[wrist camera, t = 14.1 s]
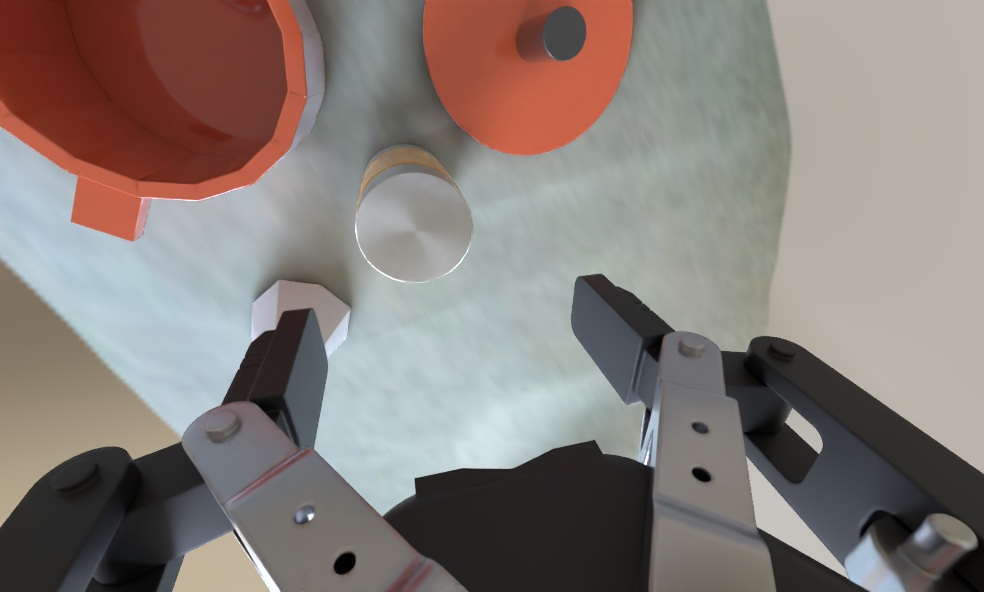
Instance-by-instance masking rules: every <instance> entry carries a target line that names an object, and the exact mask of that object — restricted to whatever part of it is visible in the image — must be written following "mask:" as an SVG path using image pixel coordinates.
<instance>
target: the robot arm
mask: <svg viewBox="0 0 984 592" xmlns="http://www.w3.org/2000/svg"><path fill="white" fill-rule="evenodd" d="M571 324H572V329H573V332H574V334H575V336H576V337H577V339H578V340H579V342H580V343H581V344H582V346H583V347H584V348H585V350H586V351H587V352H588V354H589V355H590V356H591V358H592V359H593V361H594V362H595V363H596V365H597V366H598V367H599V369H600V370H601V371H602V373H603V374H604V375H605V377H606V378H607V380H608V381H609V382H610V384H611V385H612V386H613V388H614V389H615V390H616V392H617V393H618V394H619V396H620V397H621V399H622V400H623V401H624V403H625V404H626V405H631V404H636V403H641V402H643V403H644V405H645V410H644V414H643V420H642V428H641V436H640V443H639V451H638V458H637V461H636V460H633V459H630V458H626V457H622V456H617V455H610V454H603V453H602V452H601V450H600V448H599V447H598V445H597V443H596V441H595V440H593V441H588V442H583V443H579V444H574V445H569V446H565V447H560V448H555V449H552V450H550V451H548V452H546V453H544V454H542V455H540V456H538V457H536V458H534V459H532V460H530V461H528V462H526V463H524V464H522V465H520V466H518V467H516V468H513V469H471V468H462V469H457V470H452V471H447V472H443V473H438V474H433V475H429V476H424V477H419V478H415V490H416V494H415V495H413V496H411V497H409V498H407V499H405V500H404V501H402V502H401V503H399V504H397V505H396V506H395V507H393V508H392V509H391V510H390V511H388V512H387V513H386V514H385V515H384V516H383V517H382V516H381V515H380V514H379V513H378V512H377V511H376V510H375V509H374V508H373V507H372V506H371V505H370V504H369V503H368V502H366V501H365V500H364V499H363V498H362V497H361V496H360V495H359V494H358V493H357V492H356V491H355V490H354V489H353V488H352V487H351V486H350V485H349V484H348V483H347V482H346V481H345V480H344V479H343V478H342V477H341V476H340V475H339V474H338V473H337V472H336V471H335V470H334V469H333V468H332V467H331V466H330V465H329V464H328V463H327V462H326V461H325V460H324V459H323V458H322V457H321V456H320V455H319V454H318V453H317V452H316V451H315V450H314V444H315V439H316V433H317V428H318V422H319V417H320V411H321V406H322V400H323V395H324V389H325V384H326V378H327V372H328V361H327V354H326V350H325V346H324V342H323V338H322V335H321V331H320V327H319V323H318V320H317V316H316V313H315V311H314V309H313V308H304V309H296V310H287V311H283V313H282V315H281V317H280V320H279V322H278V324H277V327H276V329H275V330H268V331H264V332H263V333H262V334H261V335H260V336H258V337H257V338H256V339H255V340H254V341H253V342H252V343H251V344H250V346H249V348H248V350H247V352H246V354H245V358H244V359H243V361H242V363H241V365H240V369H239V370H238V371H237V373H236V375H235V377H234V379H233V381H232V383H231V385H230V387H229V390H228V392H227V394H226V396H225V398H224V400H223V402H222V404H221V406H218V407H216V408H213V409H211V410H209V411H208V412H206V413H204V414H203V415H201V416H200V417H198V418H197V419H196V420H195V421H194V422H193V423H192V424H191V425H190V426H189V427H188V428H187V430H186V431H185V433H184V435H183V438H182V441H181V442H179V443H177V444H174V445H172V446H169V447H167V448H164V449H161V450H159V451H156V452H154V453H151V454H148V455H145V456H143V457H140V458H137V459H135V460H132V458H131V457H130V455H129V454H128V452H127V451H126V450H125V449H123V448H120V447H102V448H98V449H93V450H90V451H87V452H84V453H82V454H80V455H77V456H75V457H73V458H71V459H69V460H67V461H65V462H63V463H61V464H60V465H58V466H57V467H55V468H54V469H52V470H51V471H50V472H48V473H47V474H46V475H44V476H43V477H42V478H41V479H39V480H38V481H37V482H36V483H35V484H34V485H33V487H32V488H31V489H30V490H29V491H28V493H27V494H26V495H25V497H24V498H23V499H22V500H21V502H20V503H19V504H18V506H17V507H16V508H15V509H14V511H13V512H12V513H11V515H10V516H9V517H8V518H7V520H6V521H5V522H4V524H3V525H2V526H1V527H0V592H172V590H173V587H174V585H175V582H176V579H177V576H178V573H179V570H180V567H181V564H182V562H183V558H184V556H185V554H186V553H188V552H190V551H192V550H194V549H196V548H198V547H200V546H202V545H204V544H206V543H208V542H210V541H212V540H214V539H216V538H218V537H220V536H222V535H224V534H226V533H228V532H230V531H232V532H233V534H234V535H235V537H236V538H237V540H238V541H239V543H240V545H241V546H242V548H243V549H244V551H245V552H246V554H247V556H248V557H249V559H250V560H251V561H252V563H253V565H254V566H255V568H256V570H257V571H258V573H259V574H260V576H261V577H262V579H263V580H264V582H265V583H266V585H267V587H268V588H269V590H270V591H271V592H984V474H983V473H981V472H980V471H979V470H977V469H976V468H974V467H973V466H971V465H970V464H968V463H967V462H966V461H964V460H963V459H961V458H960V457H958V456H957V455H956V454H954V453H953V452H951V451H950V450H948V449H947V448H946V447H944V446H943V445H941V444H940V443H939V442H937V441H936V440H934V439H933V438H931V437H930V436H929V435H927V434H926V433H924V432H923V431H921V430H920V429H919V428H917V427H916V426H914V425H913V424H911V423H910V422H909V421H907V420H905V419H904V418H903V417H901V416H900V415H898V414H897V413H896V412H894V411H893V410H891V409H890V408H888V407H887V406H886V405H884V404H883V403H881V402H880V401H879V400H877V399H876V398H874V397H873V396H871V395H870V394H869V393H867V392H866V391H864V390H863V389H861V388H860V387H858V386H857V385H856V384H854V383H853V382H851V381H850V380H849V379H847V378H846V377H844V376H843V375H841V374H840V373H839V372H837V371H836V370H834V369H833V368H831V367H830V366H828V365H827V364H826V363H824V362H823V361H821V360H820V359H819V358H817V357H816V356H814V355H813V354H811V353H810V352H809V351H807V350H806V349H804V348H803V347H801V346H799V345H797V344H795V343H793V342H791V341H788V340H784V339H781V338H777V337H770V336H761V337H756V338H754V339H752V341H751V342H750V345H749V347H748V350H747V352H730V351H720V349H719V347H718V346H717V345H716V344H715V343H714V342H712V341H711V340H709V339H707V338H706V337H703V336H701V335H698V334H695V333H691V332H683V331H677V332H676V331H675V330H673V329H672V328H671V327H670V326H669V325H668V324H667V323H665V322H664V321H663V320H662V319H661V318H660V317H659V316H658V315H656V314H655V313H654V312H653V311H650V308H648V307H647V306H646V305H645V304H642V301H640V300H639V299H638V298H637V297H636V296H635V295H634V294H633V293H631V292H629V291H626V290H624V289H622V288H620V287H618V286H617V287H616V286H615V285H614V284H612V283H611V282H610V281H609V280H608V279H607V278H606V277H605V276H604V275H602V274H594V275H586V276H579V277H577V279H576V282H575V288H574V297H573V305H572V314H571ZM792 408H793V409H794V410H796V411H797V412H798V413H799V414H800V415H801V416H803V417H804V418H805V419H806V420H807V421H808V422H809V423H810V424H812V425H813V426H814V427H815V428H816V429H817V431H818V432H819V434H820V436H821V438H822V442H823V448H822V451H821V452H820V454H818V453H817V452H816V451H815V450H814V449H813V448H812V447H811V446H810V445H809V444H807V443H806V442H805V441H804V440H803V439H802V438H801V437H800V436H799V435H798V434H797V433H796V432H795V431H794V430H793V429H791V428H790V427H789V426H788V425H787V424H786V423H785V421H786V419H787V417H788V415H789V414H790V412H791V410H792ZM746 456H747V457H748V458H749V459H750V461H751V462H752V463H753V464H754V465H755V466H756V467H757V469H758V470H759V471H760V472H761V473H762V474H763V475H764V477H765V478H766V479H767V480H768V481H769V482H770V483H771V484H772V486H773V487H774V488H775V489H776V490H777V491H778V493H779V494H780V495H781V496H782V497H783V498H784V499H785V501H787V503H788V504H789V505H790V506H791V507H792V508H793V510H794V511H795V512H796V513H797V514H798V515H799V517H800V518H801V519H802V520H803V521H804V522H805V523H806V524H807V526H808V527H809V528H810V529H811V530H812V531H813V532H814V534H816V536H817V537H818V538H819V539H820V541H821V542H822V543H823V544H824V545H825V546H826V547H827V548H828V550H829V551H830V552H831V553H832V554H833V555H834V557H835V558H836V559H837V560H838V561H839V562H840V563H841V565H842V566H843V567H844V568H845V570H846V574H847V576H848V578H849V579H847V578H846V577H844V576H842V575H840V574H839V573H837V572H835V571H833V570H832V569H830V568H828V567H826V566H825V565H823V564H821V563H819V562H818V561H816V560H814V559H812V558H811V557H809V556H807V555H805V554H803V553H801V552H800V551H798V550H796V549H795V548H793V547H791V546H789V545H788V544H786V543H784V542H782V541H780V540H779V539H777V538H775V537H773V536H772V535H770V534H768V533H766V532H765V531H763V530H761V529H759V528H757V526H756V520H755V513H754V506H753V500H752V493H751V486H750V480H749V473H748V466H747V459H746Z"/></svg>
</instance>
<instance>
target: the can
mask: <svg viewBox="0 0 984 592" xmlns="http://www.w3.org/2000/svg"><path fill="white" fill-rule="evenodd" d="M355 231H356V238H357V242H358V245H359V247H360V250H361V252H362V253H363V255H364V257H365V258H366V259H367V261H368V262H369V263H370V264H371V265H372V266H373V267H374V268H375V269H376V270H378V271H379V272H380V273H382V274H384V275H385V276H388V277H390V278H392V279H395V280H398V281H402V282H410V283H420V282H427V281H431V280H434V279H437V278H439V277H442V276H444V275H445V274H447V273H449V272H450V271H451V270H453V269H454V268H455V267H456V266H457V265H458V264H459V263H460V262H461V260H462V259H463V258H464V256H465V255H466V253H467V251H468V249H469V246H470V243H471V240H472V234H473V222H472V216H471V212H470V210H469V207H468V205H467V203H466V201H465V199H464V198H463V196H462V194H461V192H460V190H459V189H458V187H457V186H456V184H455V183H454V181H453V180H452V178H451V177H450V175H449V174H448V172H447V170H446V169H445V168H444V166H443V165H442V164H441V163H440V162H439V160H438V159H437V158H436V157H435V156H434V155H433V154H431V153H430V152H429V151H427V150H426V149H424V148H421V147H419V146H416V145H411V144H396V145H392V146H389V147H386V148H384V149H382V150H381V151H379V152H378V153H377V154H375V156H374V157H373V158H372V159H371V160H370V162H369V163H368V165H367V167H366V169H365V172H364V175H363V178H362V182H361V187H360V193H359V198H358V204H357V215H356V222H355Z"/></svg>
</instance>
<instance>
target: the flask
mask: <svg viewBox="0 0 984 592" xmlns="http://www.w3.org/2000/svg"><path fill="white" fill-rule="evenodd" d="M304 308H313V309H314V311H315V313H316V316H317V320H318V323H319V327H320V331H321V335H322V338H323V342H324V346H325V350H326V354H327V358H328V357H329V356H330V355H331V354H332V353H333V352H334V351H335V350H336V349H337V348H338V347H339V346H340V345H341V344H342V343H343V341H344V340H345V339H346V338H347V331H348V324H349V317H350V309H351V308H350V307H349V306H347V305H346V304H345V303H344V302H342V301H341V300H340V299H339V298H337V297H336V296H335V295H333V294H332V293H331V292H330V291H328V290H327V289H326V288H324V287H323V286H322V285H317V284H309V283H301V282H293V281H285V280H278V281H277V282H276V283H275V284H274V285H272V286H271V287H270V288H269V289H268V290H267V291H266V292H265V293H263V294H262V295H261V296H260V297H259V298H258V299H257V300H256V301H254V302H253V303H252V330H251V336H252V342H253V341H254V340H255V339H256V338H257V337H258V336H260V335H261V334H262V333H263V332H264V331H268V330H275V329H276V327H277V324H278V322H279V320H280V317H281V315H282V313H283V311H287V310H296V309H304Z"/></svg>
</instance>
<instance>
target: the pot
mask: <svg viewBox="0 0 984 592" xmlns="http://www.w3.org/2000/svg"><path fill="white" fill-rule="evenodd" d="M325 90H326V88H325V61H324V53H323V43H322V40H321V37H320V35H319V32H318V29H317V27H316V24H315V21H314V18H313V16H312V14H311V12H310V10H309V7H308V5H307V3H306V1H305V0H0V127H2V128H3V129H5V130H6V131H8V132H9V133H11V134H12V135H14V136H15V137H17V138H18V139H20V140H21V141H23V142H24V143H25V144H27V145H28V146H30V147H31V148H33V149H34V150H36V151H37V152H39V153H40V154H42V155H43V156H45V157H46V158H48V159H49V160H50V161H52V162H53V163H55V164H56V165H58V166H59V167H61V168H62V169H64V170H66V171H68V172H69V173H72V174H74V175H77V176H78V180H77V187H76V193H75V199H74V205H73V212H72V218H71V222H73V223H76V224H79V225H82V226H85V227H88V228H92V229H95V230H98V231H101V232H104V233H107V234H110V235H114V236H117V237H120V238H123V239H126V240H129V241H135V240H136V239H138V238H139V237H141V236H142V235H143V233H144V228H145V224H146V220H147V215H148V211H149V207H150V202H151V198H155V199H173V200H191V201H201V200H206V199H209V198H212V197H215V196H219V195H222V194H225V193H228V192H231V191H234V190H237V189H240V188H243V187H247V186H250V185H252V184H254V183H255V182H257V181H258V180H259V179H260V178H261V177H262V176H263V175H265V174H266V173H267V172H268V171H269V170H270V169H271V168H273V167H274V166H275V165H276V164H277V163H278V162H279V161H281V160H282V159H283V158H284V157H285V156H286V155H287V154H288V153H289V152H290V151H291V150H292V149H293V148H294V147H296V146H297V145H298V144H299V143H300V142H301V141H302V140H303V139H304V138H305V137H306V136H307V135H308V134H309V133H310V132H311V131H312V129H313V126H314V123H315V120H316V118H317V116H318V114H319V111H320V108H321V104H322V101H323V98H324V95H325Z"/></svg>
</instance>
